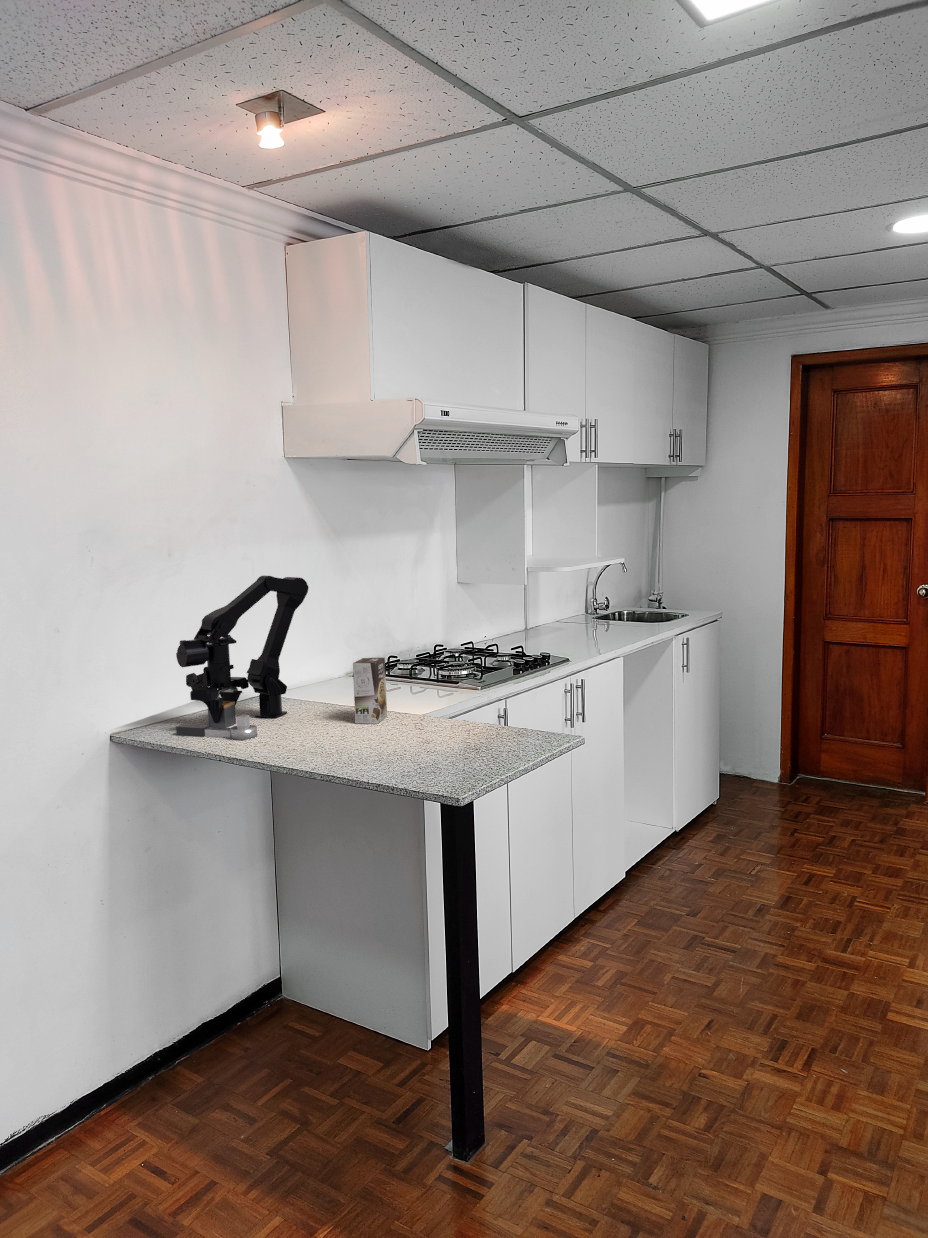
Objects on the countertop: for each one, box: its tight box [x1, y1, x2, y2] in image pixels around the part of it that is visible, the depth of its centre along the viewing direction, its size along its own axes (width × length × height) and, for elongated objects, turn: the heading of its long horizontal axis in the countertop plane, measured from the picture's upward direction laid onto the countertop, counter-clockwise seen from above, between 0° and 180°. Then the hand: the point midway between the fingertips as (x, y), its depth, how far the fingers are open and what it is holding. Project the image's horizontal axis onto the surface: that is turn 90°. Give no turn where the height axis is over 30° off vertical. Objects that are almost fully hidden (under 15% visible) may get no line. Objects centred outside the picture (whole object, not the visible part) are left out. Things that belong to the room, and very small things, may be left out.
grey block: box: [207, 701, 237, 728], centre depth 243 cm, size 5×5×6 cm
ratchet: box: [175, 714, 258, 741], centre depth 232 cm, size 6×22×5 cm, turn 71°
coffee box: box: [352, 657, 388, 725], centre depth 243 cm, size 9×6×16 cm
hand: (222, 720), depth 244 cm, fingers closed on grey block, 5 cm apart
